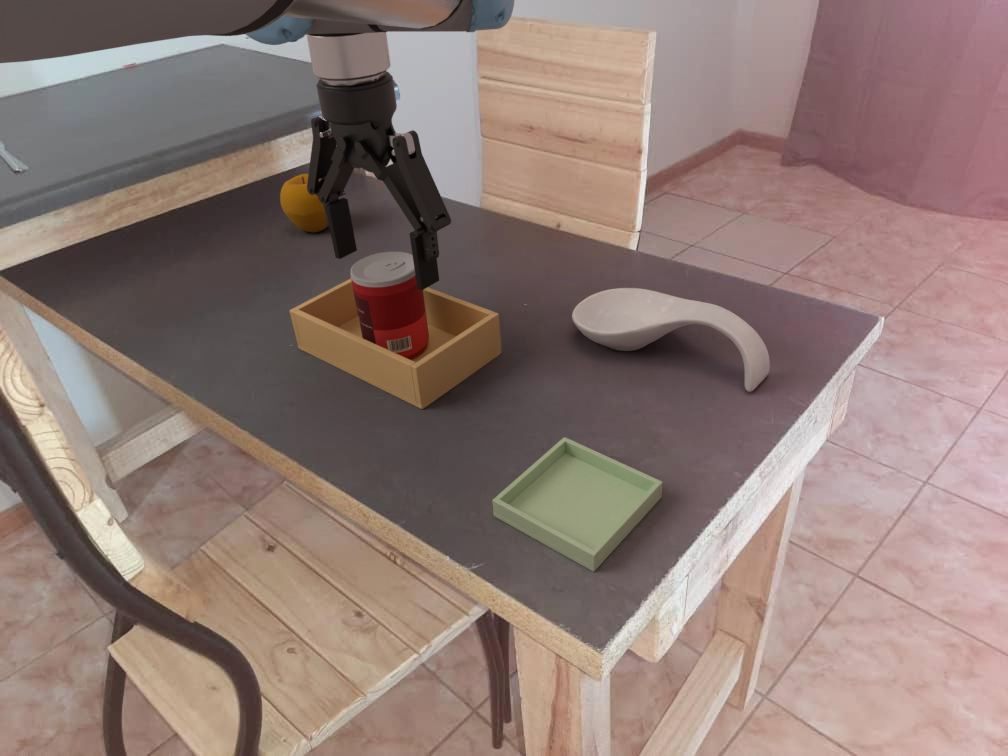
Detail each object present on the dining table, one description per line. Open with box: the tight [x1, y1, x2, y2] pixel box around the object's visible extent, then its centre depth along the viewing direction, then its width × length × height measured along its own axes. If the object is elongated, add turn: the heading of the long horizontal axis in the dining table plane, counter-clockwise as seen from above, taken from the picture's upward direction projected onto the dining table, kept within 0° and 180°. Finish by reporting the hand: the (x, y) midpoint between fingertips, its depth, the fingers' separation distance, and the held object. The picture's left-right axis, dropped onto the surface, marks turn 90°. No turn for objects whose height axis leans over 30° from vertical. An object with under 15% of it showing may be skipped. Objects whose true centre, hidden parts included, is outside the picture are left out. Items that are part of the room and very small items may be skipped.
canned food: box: [350, 251, 429, 360], centre depth 91 cm, size 8×8×11 cm
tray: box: [491, 436, 663, 573], centre depth 70 cm, size 11×11×2 cm
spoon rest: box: [571, 287, 771, 393], centre depth 89 cm, size 24×12×7 cm, turn 51°
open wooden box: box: [289, 278, 502, 410], centre depth 93 cm, size 22×14×6 cm, turn 50°
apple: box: [279, 173, 329, 233], centre depth 124 cm, size 8×8×9 cm
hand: (385, 269), depth 88 cm, fingers open, 13 cm apart
